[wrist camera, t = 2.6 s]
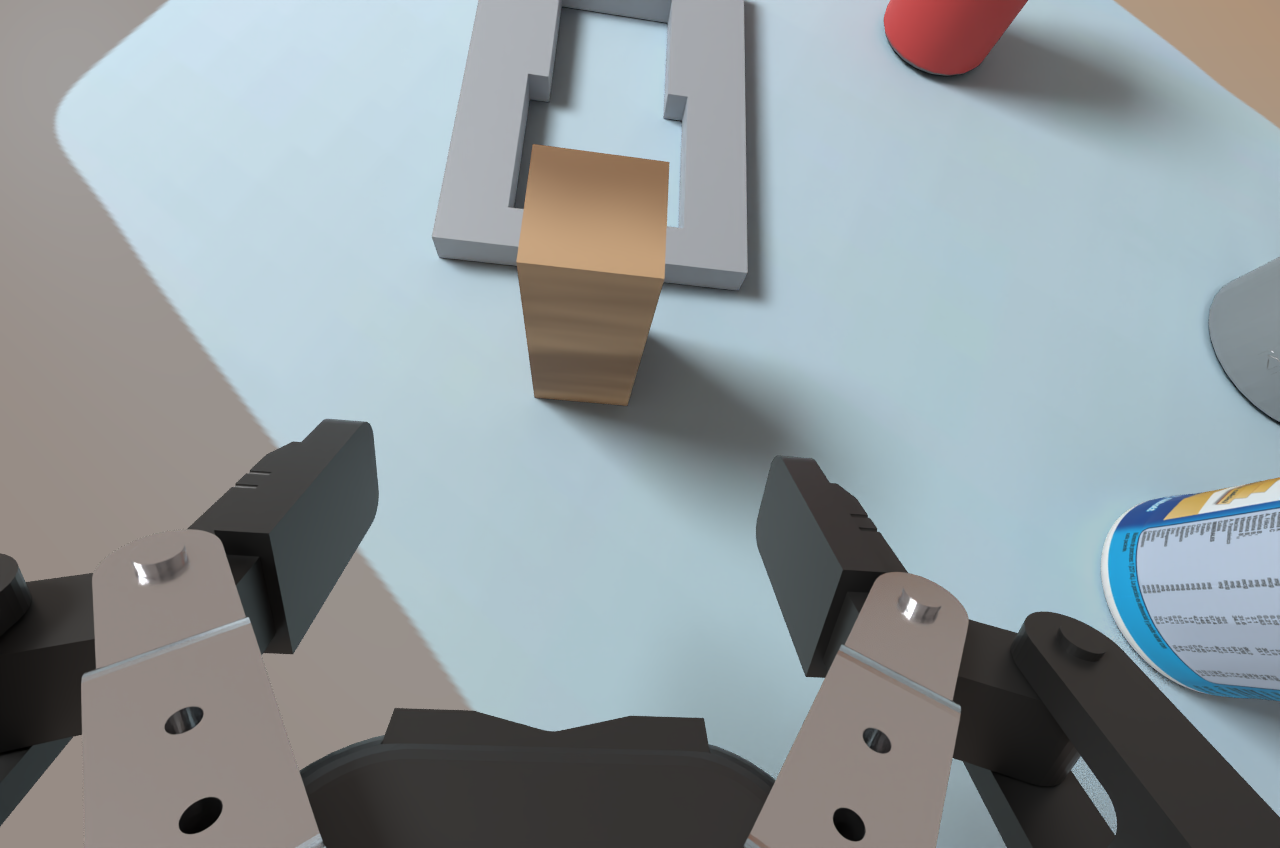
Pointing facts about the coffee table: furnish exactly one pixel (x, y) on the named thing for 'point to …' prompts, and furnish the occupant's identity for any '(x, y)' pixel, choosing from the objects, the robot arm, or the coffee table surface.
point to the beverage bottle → (1201, 587)
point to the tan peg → (590, 270)
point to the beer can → (947, 31)
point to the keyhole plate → (522, 70)
